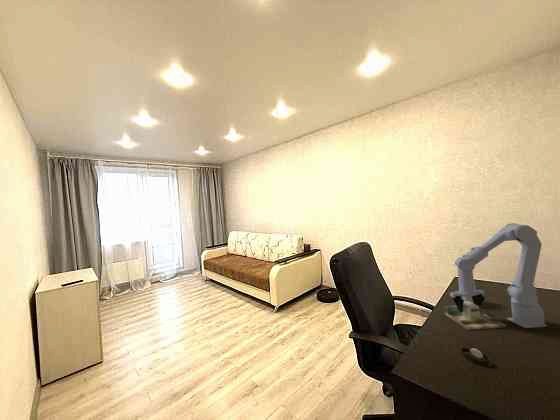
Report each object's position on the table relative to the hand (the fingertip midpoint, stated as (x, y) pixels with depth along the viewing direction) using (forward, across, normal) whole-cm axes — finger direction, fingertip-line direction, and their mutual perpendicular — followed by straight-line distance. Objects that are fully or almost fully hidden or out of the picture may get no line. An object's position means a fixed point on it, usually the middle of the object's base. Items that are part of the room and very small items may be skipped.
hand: (468, 311), depth 106 cm
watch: (+4, +20, +27) cm, 34 cm away
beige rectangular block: (+2, 0, 0) cm, 2 cm away
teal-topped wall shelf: (+3, 0, +2) cm, 4 cm away
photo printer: (+4, -12, -15) cm, 19 cm away
